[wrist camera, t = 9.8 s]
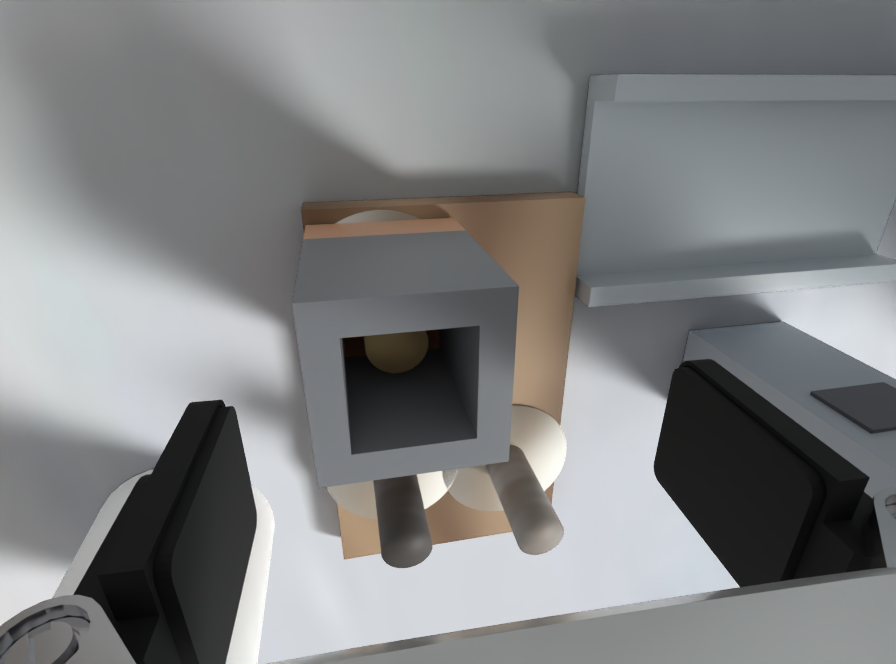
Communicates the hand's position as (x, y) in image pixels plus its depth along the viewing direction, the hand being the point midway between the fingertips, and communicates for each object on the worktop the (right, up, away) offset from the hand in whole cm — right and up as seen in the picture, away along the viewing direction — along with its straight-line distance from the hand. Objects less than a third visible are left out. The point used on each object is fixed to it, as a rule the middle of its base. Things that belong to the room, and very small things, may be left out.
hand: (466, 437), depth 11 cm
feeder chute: (+12, +8, +10) cm, 18 cm away
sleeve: (-3, +4, +8) cm, 9 cm away
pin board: (-1, 0, +11) cm, 11 cm away
